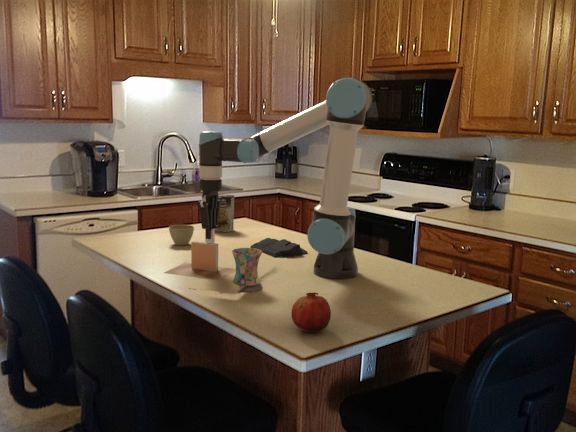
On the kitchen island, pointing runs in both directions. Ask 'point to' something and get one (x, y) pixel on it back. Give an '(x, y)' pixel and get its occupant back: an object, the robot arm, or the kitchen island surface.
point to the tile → (204, 256)
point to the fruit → (311, 313)
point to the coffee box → (226, 213)
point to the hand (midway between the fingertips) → (209, 247)
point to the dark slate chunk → (279, 248)
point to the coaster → (251, 288)
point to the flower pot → (181, 234)
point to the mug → (246, 266)
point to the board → (200, 272)
